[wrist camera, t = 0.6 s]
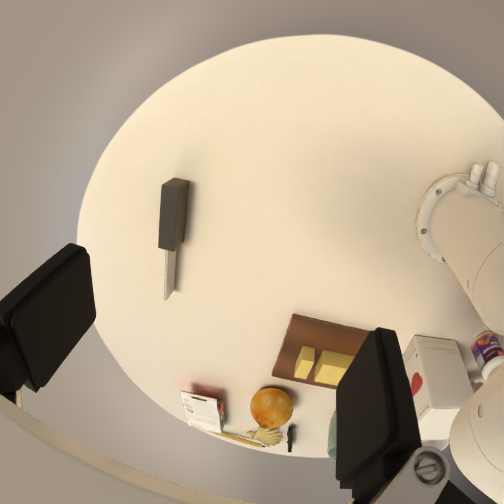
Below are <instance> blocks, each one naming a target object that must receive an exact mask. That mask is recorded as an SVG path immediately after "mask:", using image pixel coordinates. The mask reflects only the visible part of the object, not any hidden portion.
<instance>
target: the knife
mask: <svg viewBox="0 0 504 504" xmlns="http://www.w3.org/2000/svg"><path fill="white" fill-rule="evenodd" d="M188 190H189V181H185V180H180V179H175V178H173V179H171V180H169V181H168V182H166V183H164V184H163V185H162V190H161V205H160V222H159V245H158V248H161V249H165V250H166V255H165V286H164V300H167V299H168V298H169V296H170V295H171V293H172V292H173V290H174V286H175V266H176V250H177V248H178V247H179V246H180V245H181V243H182V242H183V241H184V230H185V219H186V209H187V199H188Z"/></svg>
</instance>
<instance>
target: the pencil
mask: <svg viewBox="0 0 504 504" xmlns="http://www.w3.org/2000/svg"><path fill="white" fill-rule="evenodd" d="M210 432H211V431H210ZM212 433H215V434H218V435H221V436H224V437H227V438H230V439H233V440H236V441H240V442H243V443H246V444H250V445H253V446H257V447H265V446H263V445H261V444H260V443H256V442H252V441H249V440H246V439H242V438H239V437H236V436H233V435H229V434H226V433H223V432H222V434H220V433H216V432H212Z"/></svg>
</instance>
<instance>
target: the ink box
mask: <svg viewBox="0 0 504 504" xmlns="http://www.w3.org/2000/svg"><path fill="white" fill-rule="evenodd" d="M181 394H182V398H183V403H184V404H183V405H184V409H185V413H186V416H187V420H188V423H189V426H192V427H195V428H199V429H203V430H207V431H211V432H216V433H220V434H222V431H223V428H224V424H225V418H224V407H223V401H222V400H218V399H215V398H210V397H206V396H201V395H197V394H193V393H189V392H185V391H181Z"/></svg>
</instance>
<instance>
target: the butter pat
mask: <svg viewBox="0 0 504 504" xmlns="http://www.w3.org/2000/svg"><path fill="white" fill-rule="evenodd" d="M314 357H315V348H312V347H308V346H303V347H302V350H301V352H300V354H299V357H298V359H297V361H296V366H295V373H294V377H297V378H301V379H306V378H307V376H308V374H309V372H310V370H311V368H312V366H313V364H314Z"/></svg>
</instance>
